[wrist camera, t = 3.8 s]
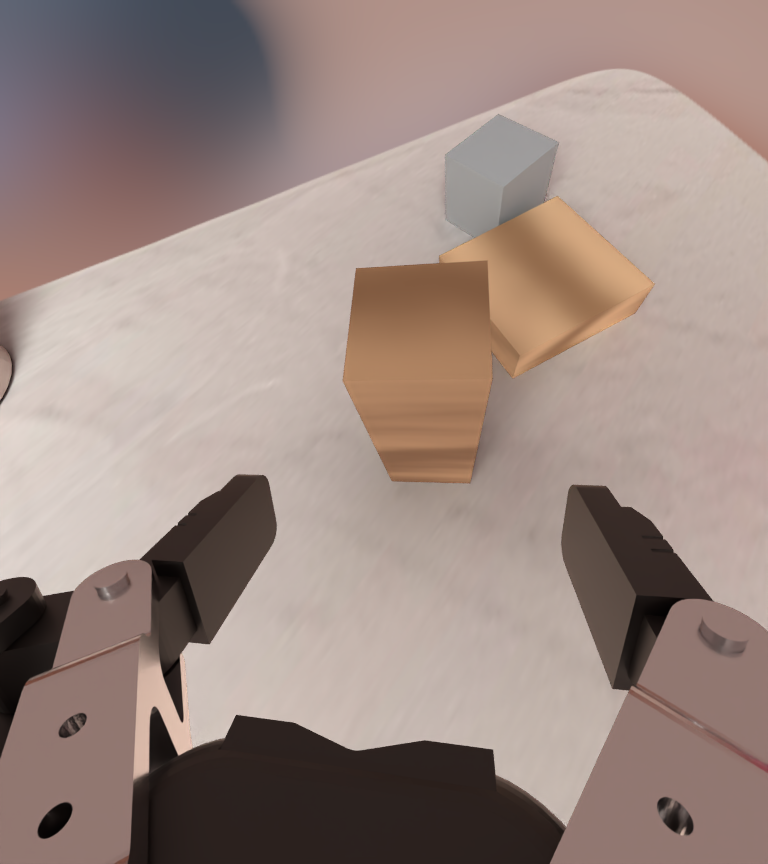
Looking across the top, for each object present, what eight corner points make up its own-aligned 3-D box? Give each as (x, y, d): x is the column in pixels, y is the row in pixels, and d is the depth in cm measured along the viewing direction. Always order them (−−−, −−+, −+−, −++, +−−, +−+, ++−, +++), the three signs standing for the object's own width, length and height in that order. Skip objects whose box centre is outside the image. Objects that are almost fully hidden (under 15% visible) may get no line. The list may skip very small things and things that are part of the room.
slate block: (494, 251, 29) (503, 186, 24) (445, 220, 30) (445, 154, 26) (541, 212, 29) (558, 142, 25) (490, 184, 31) (498, 113, 27)
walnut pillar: (469, 483, 22) (492, 378, 11) (391, 481, 23) (342, 380, 12) (468, 411, 24) (487, 260, 13) (396, 411, 25) (355, 268, 14)
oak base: (511, 381, 25) (519, 355, 22) (439, 288, 28) (439, 255, 26) (632, 317, 25) (654, 284, 23) (546, 233, 29) (557, 196, 26)
